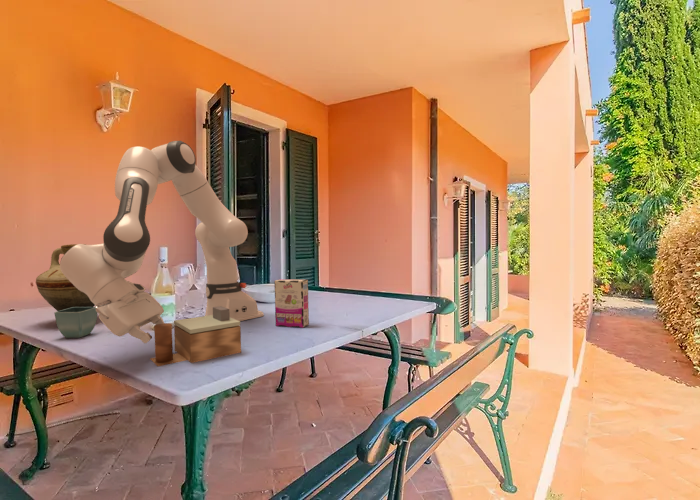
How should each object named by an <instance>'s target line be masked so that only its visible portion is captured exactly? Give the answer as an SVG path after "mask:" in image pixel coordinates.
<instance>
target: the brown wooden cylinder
mask: <svg viewBox="0 0 700 500" xmlns="http://www.w3.org/2000/svg"><path fill="white" fill-rule="evenodd" d="M172 325H173V324H172V323H171V322H168V323H166V322H164V323H163V324H157V325H156V324H154V326H153V329H154V332H153V333H154V355H155V356H154V358H155V360H156V362H157V363H164V362H169V361H171V360H173V354H174V350H173V328H172Z"/></svg>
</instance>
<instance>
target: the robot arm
mask: <svg viewBox="0 0 700 500" xmlns="http://www.w3.org/2000/svg"><path fill="white" fill-rule="evenodd" d="M196 162H197V160H196V154H195V152H194V150H193V149H192V148H191V146H190V145H189V144H188V143H186V142H184V141H182V140H173V141H170V142H168V143H164V144H161V145H157V146H156V147H153V148H152V149H149V148H148V147H145V146H139V145H138V146H137V145H136V146H132V147H129V148H128V149H127V150H126V151H125V152H124V153H123V156H122V157H121V159H120V162H119V164H118V167H117V170H116V173H115V180H114V194H115V198H116V199H118V201H119V205H118V211H117V215H116V216H115V217H114V219H113V220H112V221H110V223H109V224H108V225H107V227H106V228H105V230H104V232H103V236H102V237H103V243H98V244H86V245H84V244H85V243H78V244H77V243H76V244H77V245H75V246H73V247H71V248H70V249H69V250H68V251H67V252H66V253H65V254H63V256H62V257H61V259H60V260H59V261H60V262H59V264H60V269H61V271H62V273H63V274H64V275H65V277H66V278H67V279H68V280H69V281H70V282H71V283H72V284H73V285H74V286H75V287H76V288H77V289H78V290H80V291H81V292H84V293H85V294H86V295H87V296H88V297H89V298H90V300H91V302H93V303H94V304H95V307H96V312H97V315H98V318H99V320H100V321H101V322H102V324H104V326H105V327H106V328H107V330H109V331H110V332H111V333H112V335H114V336H117V337H122V336H125V335H127V334H129V335H131V336H130V337H134V338H135V339H138V340H140V341H141V342H142V343H143V344H147V343H148V342H150V341H151V340H152V339H153V335H152V334H150V333H149V332H146V331H144V330H142V329H141V327H143V326H146V325H148V324H150V323H152V324H153V325H157V324H163V323H165V321H164V319H163V317H162V316H161V315H163V313H164V311H165V310H164V307H163V306H162V305H161V304H160V302H159V301H158V300H156V299H155V298H154V296H152V295H151V294H150V293H149V292H147V291H146V290H147V289H146V287H145V286H144V285H142V284H141V283H140V284H139V283H135V282H131V281H129V280H127V279H126V278H129V277H130V276H132V275H134V274H136V273H137V272H138V271H139V270H140V268H141V267H142V266H143V261H144V259H145V257H146V252H147V250H148V248H149V247H150V245H151V244H150V243H151V234H150V231H149V228H148V226H147V223H146V213H147V206H149V205H151V204H152V202H153V200H154V198H155V196H156V193H157V190H158V185H160V184H165V183H167V182H171V181H172V184H173V186H174V188H175V190H176V192H177V193H178V195H179V197H180V199H181V200H182V201H183V203H184V204H185V206H186V208H187V210H188V211H189V212H190V214H191V215H192V216H194V217H195V218H197V219H198V220H199V221H200V222H199V223H198V224H197V226H196V228H195V231H194V233H195V235H194V236H195V238H196V240H197V241H198V242H199V244H200V246H201V248H202V251H203V256H204V259H205V264H206V265H205V266H206V281H207V282H206V283H205V284H206V285H205V294H206V295H205V296H206V306H205V308H206V309H205V314H204V316H209V315H213V307H218V306H222V307H225V308H228V309H229V313H230V318H232V319H235V320H237V321H240V322H243V321H246V320H251V319H256V318H261V317H264V316H265V314H264V312H263V311H261V310H259V309H258V308H259V307H258V303H257V301H256V299H255V298H253V297H252V296H250V295H249V294H247V293H246V292H244V291H243V289H246V288H247V282H239V281H238V268H237V267H238V265H237V261H236V259H235V258H234V257H233V255H232V252H231V249H230V248H232V247H236V246H237V247H238V246H239V245H242V244H243V243H245V241H246V240H247V238H248V235H249V233H248V232H249V231H248V227H247V225H246V223H245V222H244V221H243V220H241V219H239V218H238V217H237V216H235V215H234V214H233V213H232V212H231V211H230V209H228V207H226V206H225V205H224V204H223V203H222V202H221V200H220V199H219V197H218V196H217V194H216V193H215V191H214V190H213V187H212V186H211V184H210V183H209V181H208V179H207V178H206V176H205V175H204V173H203V171H202V170H200V168H199V167H198V165H197V164H196Z"/></svg>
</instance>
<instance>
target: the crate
mask: <svg viewBox="0 0 700 500" xmlns="http://www.w3.org/2000/svg"><path fill="white" fill-rule="evenodd" d="M173 325H174V326H173V330H174V331H173V333H174V351H175V353H173V360H171V361H169V362H164V363H157V362H156V360H155V357H151V358H149V360H150V361H151V362H152V363H153V364H154V365H156V367H161V366H162V367H163V366H167V365H172V364H176V363H180V362H186V361H187V362H189V363H191V364H194V363H198V362H203V361H208V360H212V359H217V358H222V357H227V356H232V355H236V354H241V353H242V338H241V337H242V333H241V331H242V330H241V325H239V326H233V327H228V328H222V329H216V330H210V331H204V332H198V333H192V334H190V333H188V332H187V331H185V330H183V329H181V328H180V327H178V326H176V325H175V324H173Z"/></svg>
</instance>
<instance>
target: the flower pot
mask: <svg viewBox="0 0 700 500" xmlns="http://www.w3.org/2000/svg"><path fill="white" fill-rule="evenodd" d="M54 317H55V324H56V326H57V329H58V331H59V332H60V333H61V335H62V336H63V337H64V338H65V339H66V338H67V339H69V338H72V339H73V338H75V339H76V338H78V339H79V338H83V337H85V336H88V335H91V333H92V332H93V330H94V329H95V326H96V323H97V320H98V313H97V312H96V306H94V307H72V308H68V309H64V310H61V311H57V310H56V311H54Z"/></svg>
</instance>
